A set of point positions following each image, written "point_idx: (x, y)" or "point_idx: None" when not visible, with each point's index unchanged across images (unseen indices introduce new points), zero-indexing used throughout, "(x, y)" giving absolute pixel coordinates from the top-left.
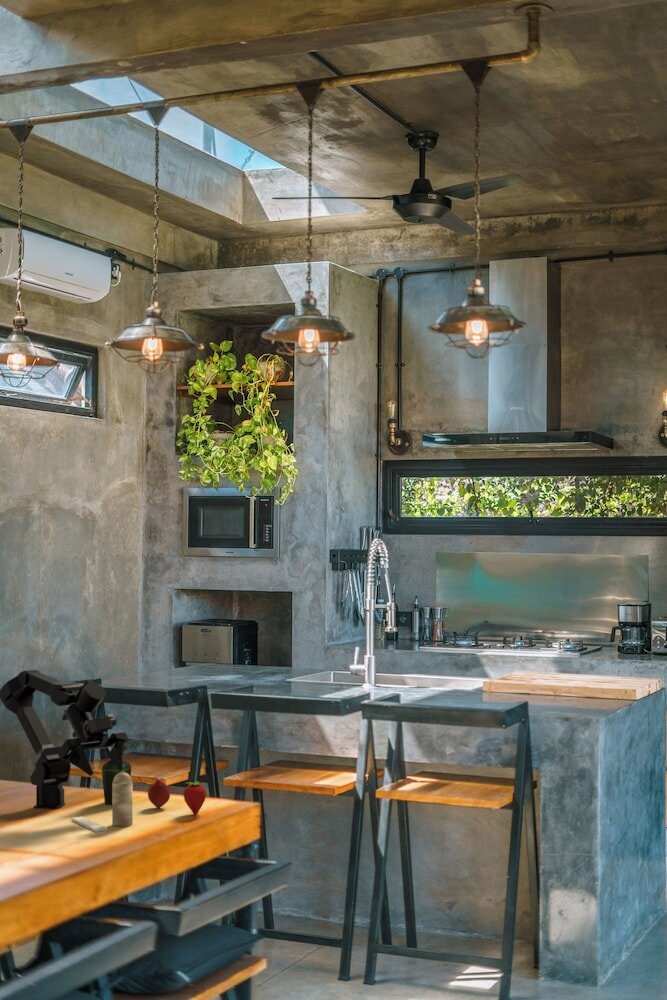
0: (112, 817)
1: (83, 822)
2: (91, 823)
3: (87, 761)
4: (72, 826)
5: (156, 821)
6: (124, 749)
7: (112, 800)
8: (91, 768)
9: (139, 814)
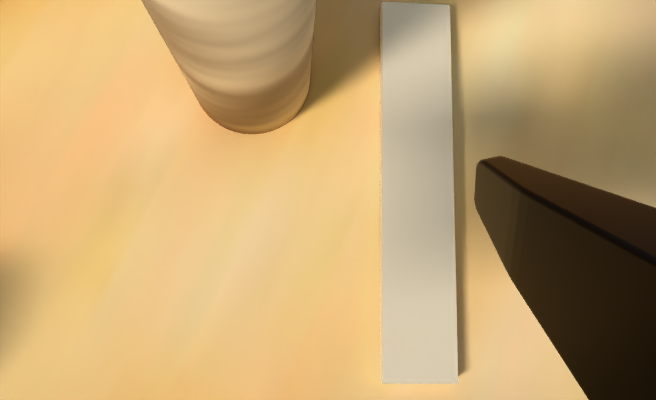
0: (309, 73)
1: (443, 207)
2: (413, 153)
3: (650, 236)
4: None
5: (46, 43)
6: None
7: (312, 23)
8: (520, 186)
9: (21, 291)
